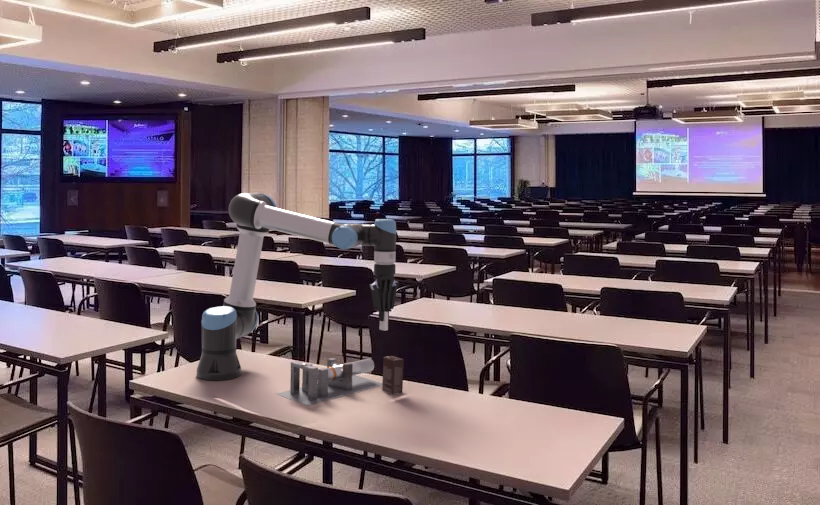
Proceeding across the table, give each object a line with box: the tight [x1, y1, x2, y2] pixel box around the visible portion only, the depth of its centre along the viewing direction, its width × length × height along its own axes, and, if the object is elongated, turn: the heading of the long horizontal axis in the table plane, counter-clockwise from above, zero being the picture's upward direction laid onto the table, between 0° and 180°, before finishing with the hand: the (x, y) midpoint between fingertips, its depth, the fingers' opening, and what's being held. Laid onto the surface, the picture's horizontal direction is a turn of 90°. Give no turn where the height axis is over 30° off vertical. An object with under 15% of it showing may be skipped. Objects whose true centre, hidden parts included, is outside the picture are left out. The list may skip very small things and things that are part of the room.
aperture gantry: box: [289, 360, 319, 401], centre depth 216 cm, size 11×2×10 cm, turn 48°
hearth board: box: [276, 374, 382, 407], centre depth 226 cm, size 16×34×1 cm, turn 138°
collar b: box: [301, 362, 328, 398], centre depth 220 cm, size 10×2×9 cm, turn 48°
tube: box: [325, 358, 375, 382], centre depth 229 cm, size 5×22×5 cm, turn 138°
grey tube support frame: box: [326, 357, 352, 391], centre depth 227 cm, size 10×2×9 cm, turn 48°
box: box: [381, 355, 404, 395], centre depth 225 cm, size 6×4×12 cm
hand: (383, 329), depth 241 cm, fingers closed
